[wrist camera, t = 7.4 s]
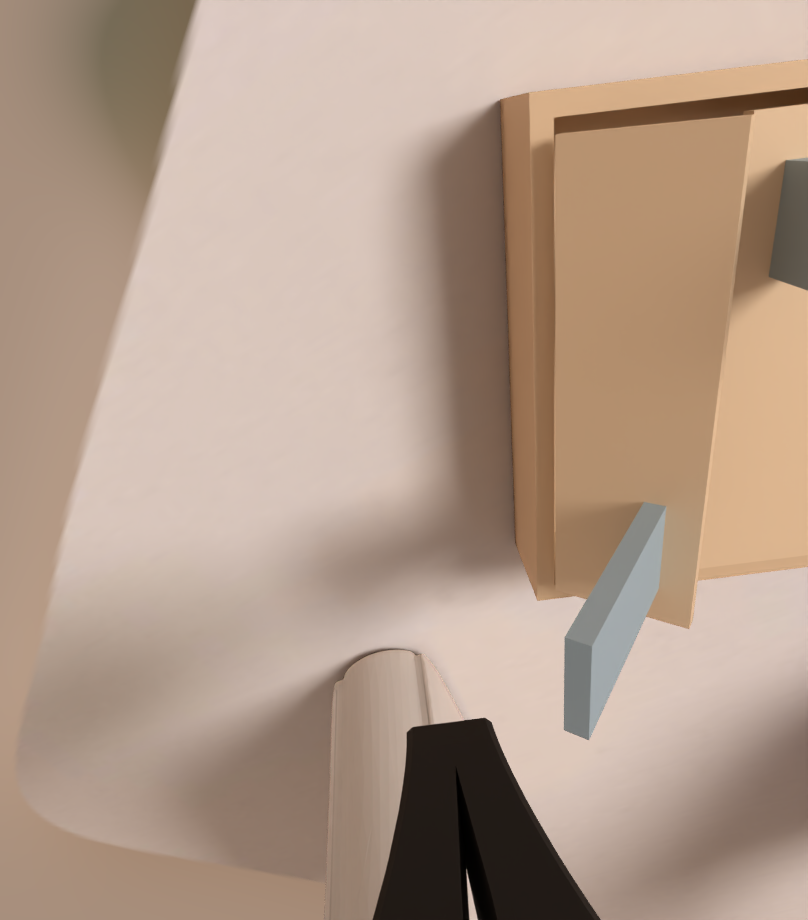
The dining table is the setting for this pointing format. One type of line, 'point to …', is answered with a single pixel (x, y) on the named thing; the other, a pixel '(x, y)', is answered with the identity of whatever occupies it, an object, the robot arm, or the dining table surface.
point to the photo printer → (374, 770)
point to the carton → (533, 260)
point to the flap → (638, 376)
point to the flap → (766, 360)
